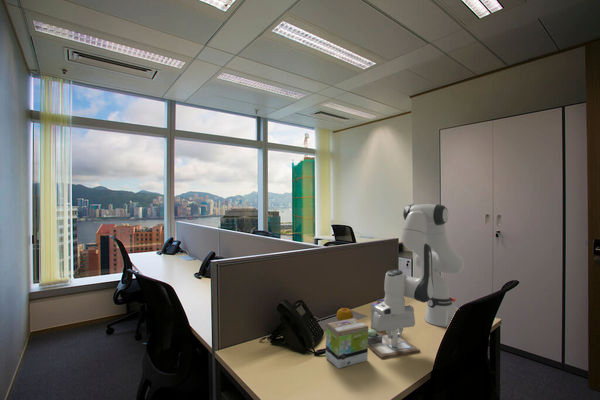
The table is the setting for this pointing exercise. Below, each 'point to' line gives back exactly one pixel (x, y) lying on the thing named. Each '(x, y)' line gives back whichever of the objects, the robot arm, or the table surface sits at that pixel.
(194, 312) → the table surface
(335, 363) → the tea box
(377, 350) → the brown shallow tray
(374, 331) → the button
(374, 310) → the ink cartridge box
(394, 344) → the cylinder
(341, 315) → the apple
